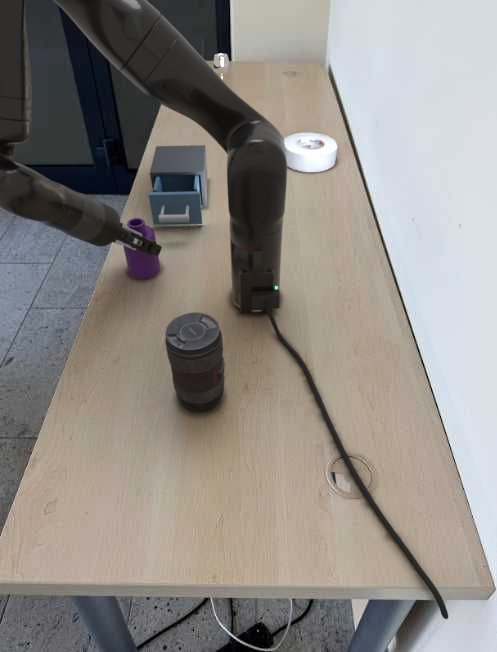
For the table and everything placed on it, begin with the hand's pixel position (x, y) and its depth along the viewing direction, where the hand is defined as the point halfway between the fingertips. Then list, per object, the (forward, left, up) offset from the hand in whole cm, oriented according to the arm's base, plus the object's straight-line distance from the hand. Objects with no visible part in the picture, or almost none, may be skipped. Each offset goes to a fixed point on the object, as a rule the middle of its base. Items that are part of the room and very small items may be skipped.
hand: (143, 243), depth 99 cm
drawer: (+19, -5, -5) cm, 20 cm away
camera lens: (-35, -12, -6) cm, 37 cm away
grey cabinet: (+31, -5, -6) cm, 32 cm away
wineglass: (+108, -15, -6) cm, 109 cm away
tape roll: (+49, -40, -6) cm, 64 cm away
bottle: (-1, +1, -6) cm, 6 cm away
